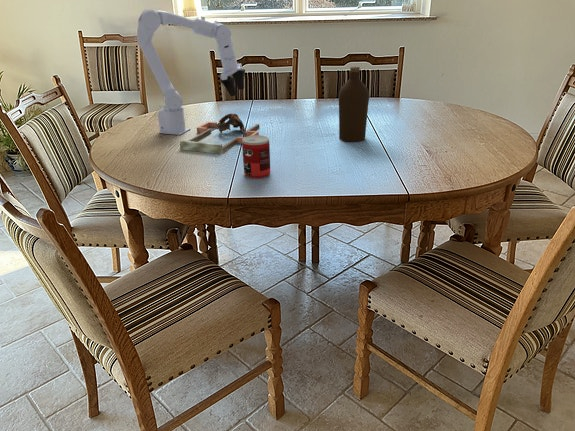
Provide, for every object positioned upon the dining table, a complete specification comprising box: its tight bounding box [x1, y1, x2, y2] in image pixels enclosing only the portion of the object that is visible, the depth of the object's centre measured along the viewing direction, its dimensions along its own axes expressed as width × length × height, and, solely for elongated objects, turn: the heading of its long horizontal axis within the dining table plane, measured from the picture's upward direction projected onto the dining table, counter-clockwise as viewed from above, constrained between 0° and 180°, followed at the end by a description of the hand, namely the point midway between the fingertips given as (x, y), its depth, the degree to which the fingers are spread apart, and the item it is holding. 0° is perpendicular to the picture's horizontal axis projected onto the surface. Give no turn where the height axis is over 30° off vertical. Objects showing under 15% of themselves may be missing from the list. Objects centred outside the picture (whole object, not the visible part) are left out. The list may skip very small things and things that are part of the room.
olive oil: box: [338, 66, 370, 143], centre depth 170 cm, size 11×11×25 cm
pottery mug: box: [217, 113, 247, 135], centre depth 185 cm, size 12×10×8 cm
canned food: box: [241, 134, 271, 179], centre depth 143 cm, size 8×8×11 cm
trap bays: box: [196, 121, 260, 144], centre depth 182 cm, size 25×16×2 cm, turn 70°
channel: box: [178, 121, 260, 155], centre depth 178 cm, size 16×32×3 cm, turn 160°
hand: (237, 92), depth 189 cm, fingers open, 7 cm apart
